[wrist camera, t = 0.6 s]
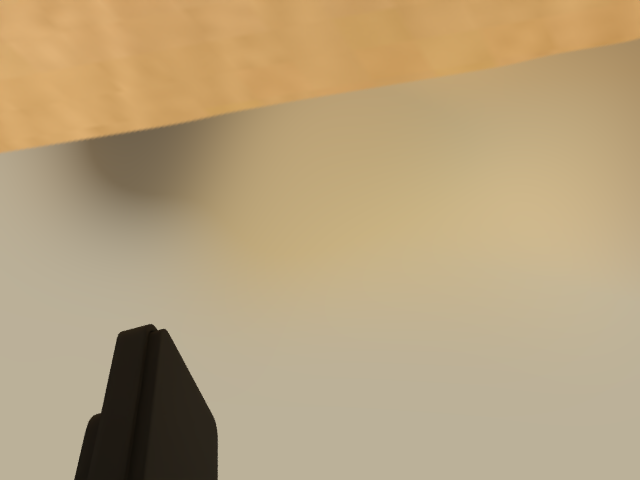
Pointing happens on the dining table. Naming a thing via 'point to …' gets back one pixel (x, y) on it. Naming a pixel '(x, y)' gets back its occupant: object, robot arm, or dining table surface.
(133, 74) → the dining table surface
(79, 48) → the dining table surface
